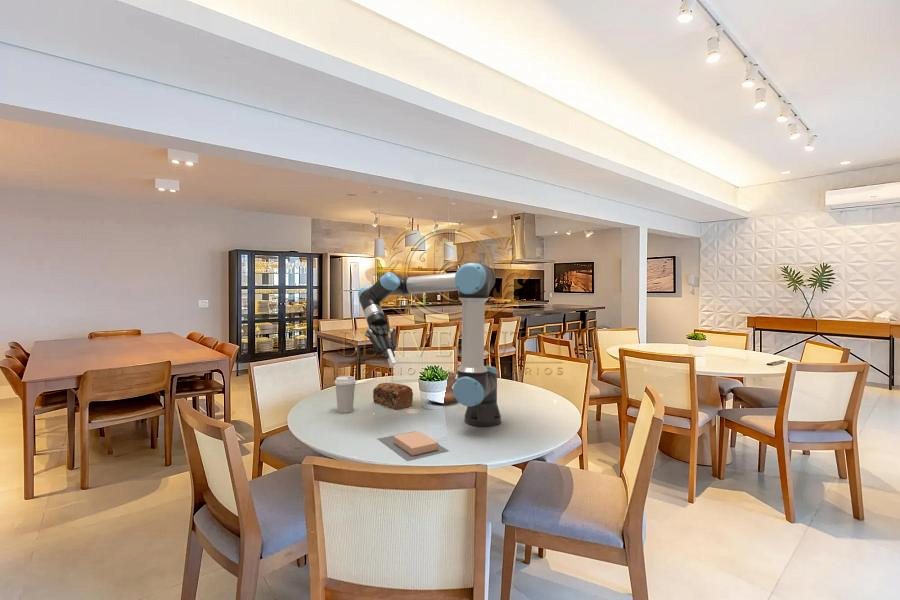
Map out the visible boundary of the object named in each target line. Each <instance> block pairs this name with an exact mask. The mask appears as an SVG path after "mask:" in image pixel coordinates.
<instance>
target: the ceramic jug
mask: <svg viewBox="0 0 900 600" xmlns="http://www.w3.org/2000/svg"><path fill="white" fill-rule="evenodd" d="M446 371H447V372H448V373H449V376H448V379H447V387H446V392H445V397H444V405H448V404H451V403H453V402H456V401H457V400H456V398H455V396H454V393H453V386H454V384H455V382H456V381H457V372H455V371H450V370H446Z"/></svg>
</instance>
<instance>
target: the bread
mask: <svg viewBox="0 0 900 600" xmlns="http://www.w3.org/2000/svg"><path fill="white" fill-rule="evenodd" d="M372 394H373V395H372V398H373V402H375V403H374V404H377V403H378V405H380V404H381V406H383V405H384V406H383V407H386V406H387V408H389V409H395V410H400V409H405V408H409V407H411V406H412V405H413V400H414V399H413V396H414V392H413V389H412V388H411V387H410V386H409V385H405V384H401V383H396V382H395V383H394V382H382V383H378V384H377V385H376V386H375V387H374V388H373V391H372Z"/></svg>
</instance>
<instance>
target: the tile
mask: <svg viewBox="0 0 900 600" xmlns="http://www.w3.org/2000/svg"><path fill="white" fill-rule="evenodd" d="M415 431H416V430H415ZM410 432H411V433H409V432H404V433H405V434H404V433H400V435H399V434H395V436H394V435H392V436H393V443H395V444H396V445H398V446H399V447H400V448H402V449H403V450H405V451H406V452H408V453H409V454H410V455H412V456H413V455H417V454H421V453H426V452H430V451H434V450H438V444H439V441H437V440H435V439H433V438H432V437H430V436H428V435H426V434H424V433H423V432H421V431H419V430H417V431H416V432H414V431H410Z"/></svg>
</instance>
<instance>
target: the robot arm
mask: <svg viewBox="0 0 900 600" xmlns="http://www.w3.org/2000/svg"><path fill="white" fill-rule="evenodd" d="M495 283H496V275H495V272H494V270H493V269H492V268H491V267H490V266H488V265H487V264H481V263H478V262H468V263H464V264H463V265H461V266H460V267H459V268H458V269H457V270H456V272H447V273H439V274H438V273H436V274H428V275H417V276H407V277H398V276H397V275H396V274H395V273H393V272H391V271H386V273H385V274H383V275H382V276H380V278H379V279H378V280H377V281H376V282H375V283H374V284H373V285H371V286H370V285H367V286H364V287H361V288H360V289H359V290H358V292H357V296H358V301H359V304H360V305H361V308H362V311H363V314H364V317H365V320H366V322H367V325H368V329H367V330H366V332H365V334H364V336H365V337H367V338H368V339H369V340H370V343H371V344H372V346H373V347H374V349H375V350H376V352H378V353H381V354H382V355H383V356H384V359H385V360H387V363H388V365H389V367H390V368H394V367H395V365H396V363H397V362H396V360H395V359H396V358H395V356H396V354H395V350H396V348H397V340H396V339H397V337H396V333H397V332H396V331H397V329H396V328H390V326H389V325H388V322H387V319H386V316H385V312H384V311H383V308H382V306H381V303H382V302H383V301H384V300H385V299H387V297H388V296H406V295H413V294H427V293H430V294H431V293H439V292H440V293H442V292H454V291H457V293H458V295H457V296H458V299H459V301H460V302H461V306H462V307H461V316H462V317H461V365H459V366H458V368H457V372H456V379H457V381H456V382H455V383H454V384H453V386H452V389H453V393H454V396H455V398H456V401H457V402H458V403H459V404H460V405H462V406H464V407H466V411H465V414H464V422H465V424H467V425H470V426H475V427H482V428H483V427H484V428H485V427H495V426H498V425H500V424H501V422H502V414H501V412H500V409H499V406H498V369H497V368H496V366H490V365H489V366H488V365H485V362H484V361H485V360H484V359H485V314H486V313H485V310H486V309H485V306H486V304H485V303H486V302H487V301H488V300H489V298H490V297H489V296H490V295H489V293H490V291H491V290H492V289H493V287H494V286H495ZM389 335H390V337H389Z"/></svg>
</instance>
